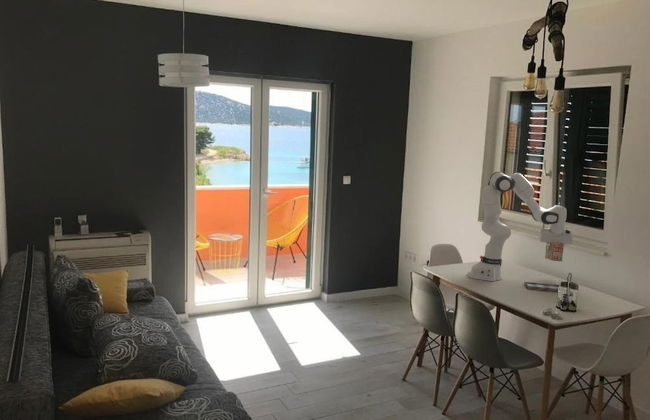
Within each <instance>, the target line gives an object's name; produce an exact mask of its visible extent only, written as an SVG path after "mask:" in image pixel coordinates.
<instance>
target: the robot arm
mask: <svg viewBox="0 0 650 420" xmlns="http://www.w3.org/2000/svg"><path fill="white" fill-rule="evenodd" d="M510 190H512V191H513V192H514V194H516V196H517V197H518V198H520V200H522V201H523V202H524V204H525V205H526V206H527V207H528V209H529V210H530V212H531V216H532V219H533V220H534V221H535V222H538V223H541V224H544V225H550V228H545V227H543V228H541V229H540V236H539V241H540V242H541V243H545V244H546V245H547V246H548V247H547V249H550V246H549V244H550V243H552V242H562V243H564V246H565V245H569V246H571V245H573V231H572V230H571V229H569V228H566V221H567V214H568V213H567V208H566V207H565V206H562V205H559V204H556V205H553V206H552V207H550V208H545V207H542V206H540V205H539V204H538V201H536V199H535V198H534V196H535V191H536V190H535V189H534V187H533V185H532V184H531V182H529V180H528V179H527V178H526V177H525V176H523V174H522V173H520V172H515V173H512V174H511V175H507V174H505V173H503V172H502V171H495V172H493V173H492V174H491V176H490V178H489V181H488V184H487V186H484V187H483V188H482V190H481V200H482V201H481V202H482V206H483V207H482V208H483V213H484V218H483V222H482V224H481V230H482V231H483V233H484V234H485V235H487V236H489V237H490V238H489V241H488V242H487V243H486V245H485V247H484V255H480V256H479V259H480V261H479V262H476V263H475V264H473V265H472V267H471V270H470V271H467V277H468V278H470V279H475V280H483V281H488V282H489V281H490V282H495V281H496V282H497V281H501V280H502V274H501V273H502V272H501V269H502V263H503V259H502V257H503V256H502V255H503V249H504V245H505V243H506V241H507V240H508V239H509V238H510V237H511V235H512V230H511V228H510V227H509V225H507V224H505V223H503V222H501V221H500V215H501V214H502V207H501V200H500V192H501V193H506V192H509V191H510Z"/></svg>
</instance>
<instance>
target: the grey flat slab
mask: <svg viewBox="0 0 650 420" xmlns="http://www.w3.org/2000/svg"><path fill="white" fill-rule="evenodd" d="M523 284H524V285H523V286H524V287H525V288H526V289H527V290H532V291H533V290H534V291H544V292H553V293H558V292H557V291H558V287H559V285H560V284H550V283H542V282H533V281H531V282H530V281H524V283H523Z"/></svg>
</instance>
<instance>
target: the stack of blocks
mask: <svg viewBox="0 0 650 420" xmlns="http://www.w3.org/2000/svg"><path fill="white" fill-rule="evenodd" d="M548 245H549V246H550V249H547V247H548V246H547V244H546V245H545V256H544V258H545V259H546V260H549V261H553V262H563V259H564V258H563V254H564V247H565V245H564V243H562V242H552V243H549V244H548Z"/></svg>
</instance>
